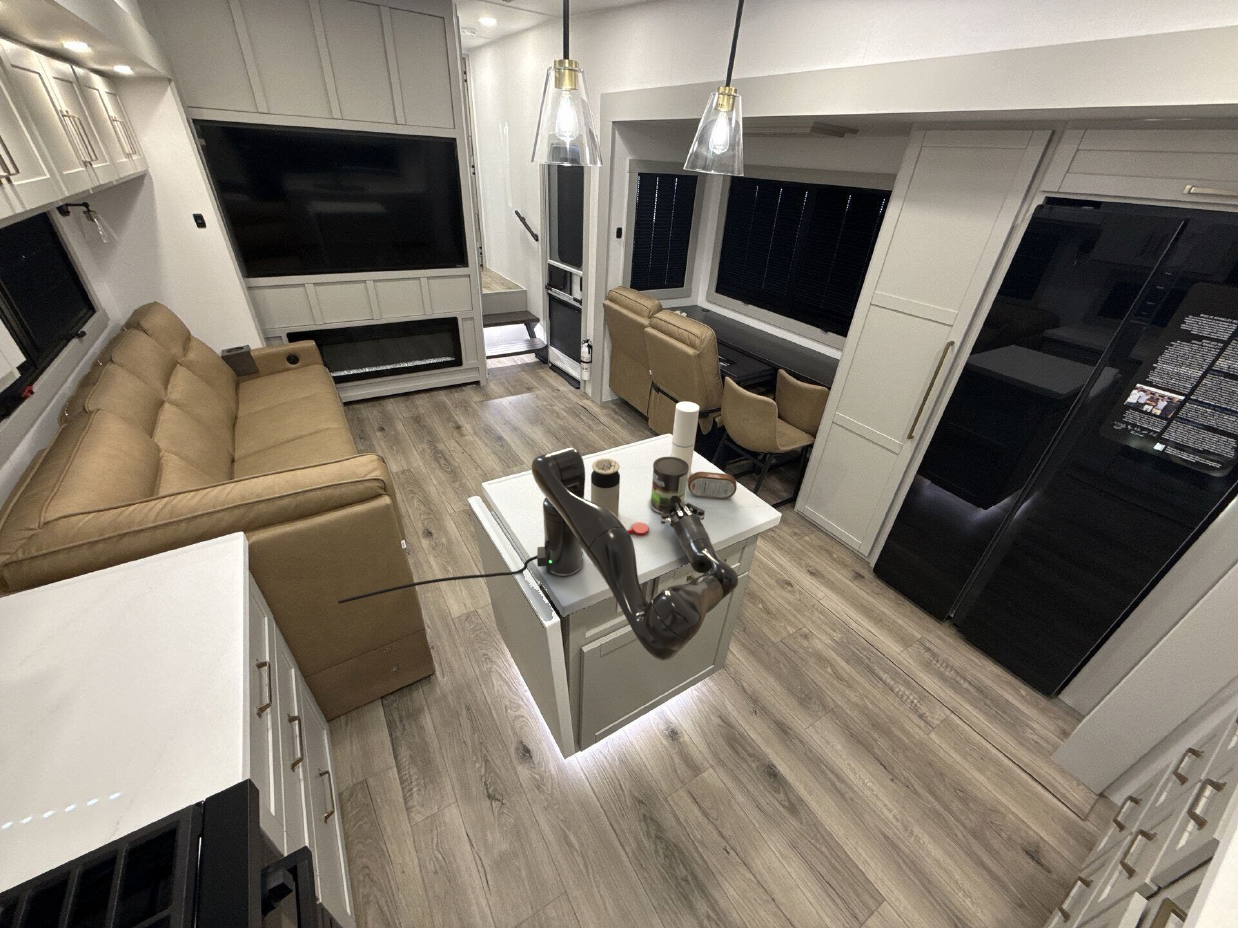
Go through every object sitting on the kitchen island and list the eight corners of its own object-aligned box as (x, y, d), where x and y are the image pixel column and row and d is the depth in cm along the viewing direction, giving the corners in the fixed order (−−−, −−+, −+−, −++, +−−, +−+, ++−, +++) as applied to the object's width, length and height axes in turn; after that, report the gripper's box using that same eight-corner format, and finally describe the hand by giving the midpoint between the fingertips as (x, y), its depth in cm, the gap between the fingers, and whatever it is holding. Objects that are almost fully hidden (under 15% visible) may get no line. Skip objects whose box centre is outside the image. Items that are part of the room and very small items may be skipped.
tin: (733, 495, 152) (738, 473, 147) (734, 501, 149) (739, 479, 145) (686, 491, 153) (689, 469, 148) (686, 497, 150) (689, 474, 146)
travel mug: (587, 523, 138) (587, 470, 128) (595, 506, 144) (595, 455, 135) (614, 528, 136) (616, 475, 127) (621, 511, 143) (623, 460, 133)
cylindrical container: (666, 477, 159) (673, 409, 146) (671, 466, 165) (678, 400, 151) (688, 482, 157) (697, 413, 144) (691, 470, 163) (701, 403, 150)
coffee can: (660, 518, 140) (664, 477, 133) (644, 499, 148) (646, 460, 141) (690, 510, 144) (695, 470, 137) (673, 492, 152) (677, 453, 145)
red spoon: (598, 548, 129) (598, 545, 128) (591, 538, 133) (591, 535, 132) (651, 532, 135) (651, 529, 135) (643, 523, 139) (643, 520, 138)
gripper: (667, 550, 126) (650, 510, 140) (715, 545, 128) (694, 506, 143) (670, 528, 122) (652, 489, 136) (719, 523, 124) (697, 485, 139)
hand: (673, 498), depth 140 cm, fingers closed
